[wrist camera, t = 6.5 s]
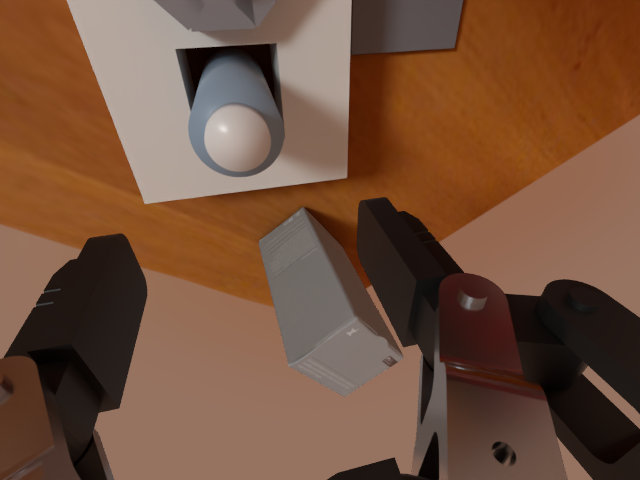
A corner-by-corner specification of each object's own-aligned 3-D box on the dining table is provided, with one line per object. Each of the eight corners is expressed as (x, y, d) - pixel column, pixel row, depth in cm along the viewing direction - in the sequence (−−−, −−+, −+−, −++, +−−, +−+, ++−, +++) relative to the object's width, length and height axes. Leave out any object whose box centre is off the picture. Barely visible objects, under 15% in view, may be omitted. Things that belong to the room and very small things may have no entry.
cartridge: (194, 50, 25) (173, 94, 15) (260, 45, 26) (282, 85, 16) (209, 116, 28) (200, 191, 18) (268, 110, 29) (290, 179, 19)
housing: (35, -174, 18) (-50, -247, 12) (330, -161, 20) (370, -217, 15) (155, 175, 30) (140, 217, 24) (332, 155, 32) (354, 189, 27)
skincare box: (256, 239, 36) (273, 370, 24) (309, 199, 35) (357, 316, 22) (303, 280, 41) (338, 405, 29) (351, 246, 40) (410, 363, 27)
